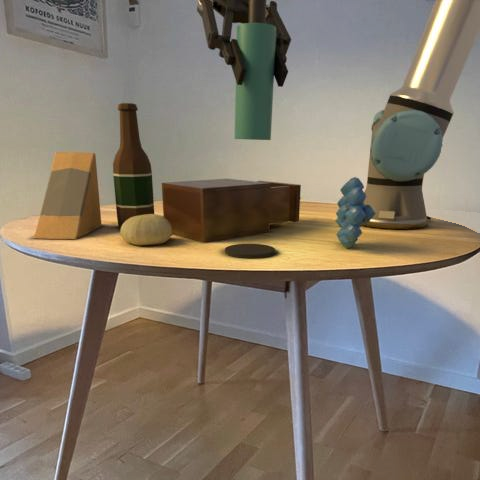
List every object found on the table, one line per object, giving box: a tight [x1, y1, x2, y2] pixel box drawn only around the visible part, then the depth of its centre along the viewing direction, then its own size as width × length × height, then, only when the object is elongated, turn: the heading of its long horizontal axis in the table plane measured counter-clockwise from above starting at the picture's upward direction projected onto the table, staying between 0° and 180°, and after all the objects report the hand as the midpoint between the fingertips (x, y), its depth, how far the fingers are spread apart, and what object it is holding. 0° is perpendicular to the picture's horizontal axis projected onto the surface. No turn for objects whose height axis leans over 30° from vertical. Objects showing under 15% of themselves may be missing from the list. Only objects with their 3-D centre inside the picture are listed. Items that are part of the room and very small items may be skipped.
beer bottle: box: [112, 102, 155, 229], centre depth 95 cm, size 8×8×24 cm
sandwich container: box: [33, 151, 102, 240], centre depth 92 cm, size 9×15×15 cm, turn 177°
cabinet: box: [161, 178, 270, 243], centre depth 94 cm, size 17×14×10 cm
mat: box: [224, 243, 276, 259], centre depth 78 cm, size 8×8×1 cm
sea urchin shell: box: [119, 213, 173, 246], centre depth 85 cm, size 9×8×8 cm
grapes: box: [335, 176, 375, 249], centre depth 79 cm, size 12×7×12 cm, turn 178°
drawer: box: [256, 180, 302, 225], centre depth 101 cm, size 20×12×8 cm, turn 131°
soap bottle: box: [233, 0, 276, 141], centre depth 74 cm, size 6×6×20 cm
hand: (262, 78), depth 71 cm, fingers closed on soap bottle, 6 cm apart
